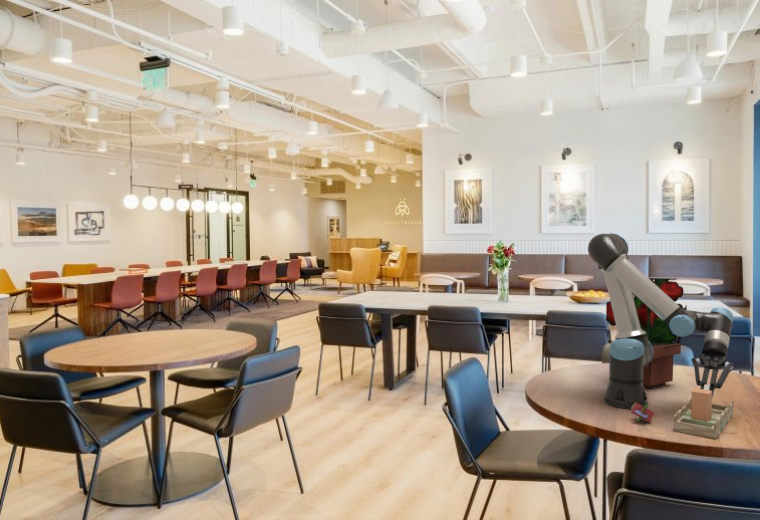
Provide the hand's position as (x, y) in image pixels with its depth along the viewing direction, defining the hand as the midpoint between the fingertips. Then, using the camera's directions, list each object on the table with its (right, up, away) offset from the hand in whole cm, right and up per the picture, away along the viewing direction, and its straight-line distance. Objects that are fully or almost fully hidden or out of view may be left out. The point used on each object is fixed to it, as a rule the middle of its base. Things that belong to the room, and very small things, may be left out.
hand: (704, 403), depth 193 cm
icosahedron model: (-19, -7, +3) cm, 21 cm away
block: (-2, -4, -3) cm, 6 cm away
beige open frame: (+1, -7, +2) cm, 7 cm away
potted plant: (+4, -5, +53) cm, 53 cm away
